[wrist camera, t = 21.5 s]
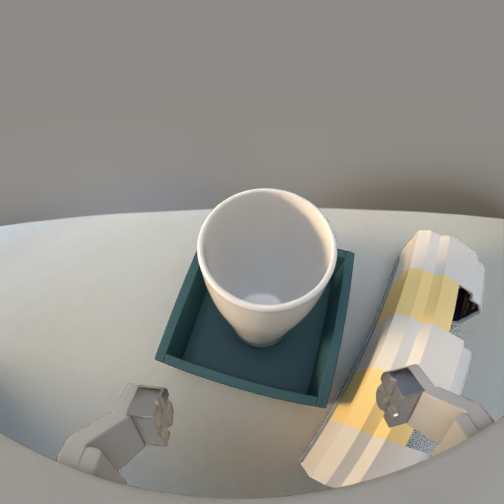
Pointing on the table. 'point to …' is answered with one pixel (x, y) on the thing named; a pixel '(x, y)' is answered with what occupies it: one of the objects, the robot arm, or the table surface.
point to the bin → (260, 359)
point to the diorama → (401, 359)
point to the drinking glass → (266, 261)
